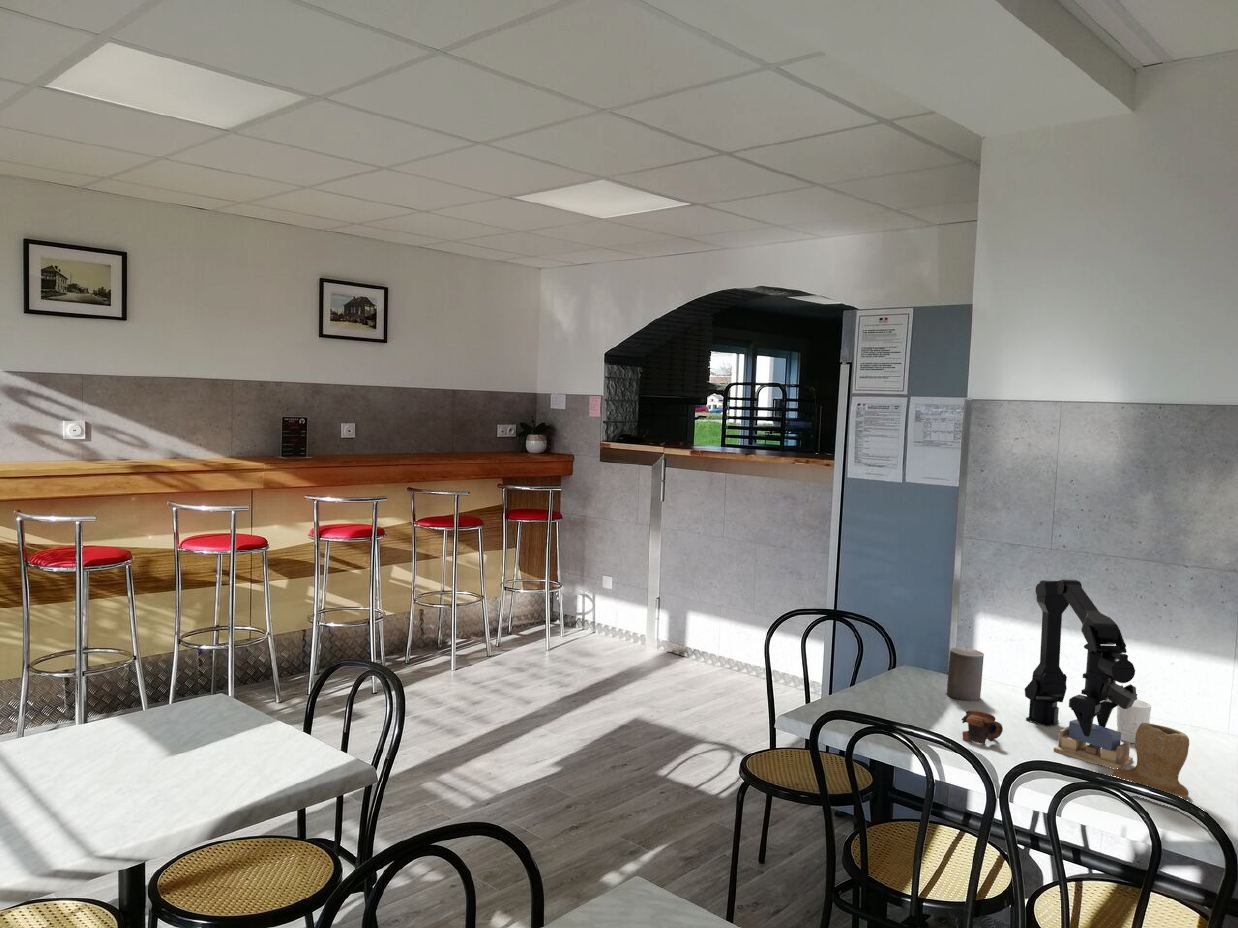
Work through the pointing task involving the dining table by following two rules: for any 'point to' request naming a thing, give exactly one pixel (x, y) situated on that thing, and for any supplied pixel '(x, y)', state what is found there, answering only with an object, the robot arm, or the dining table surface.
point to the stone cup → (1158, 759)
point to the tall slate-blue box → (1096, 735)
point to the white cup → (1132, 719)
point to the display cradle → (1093, 751)
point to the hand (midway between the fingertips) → (1094, 732)
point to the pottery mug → (981, 727)
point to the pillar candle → (965, 674)
